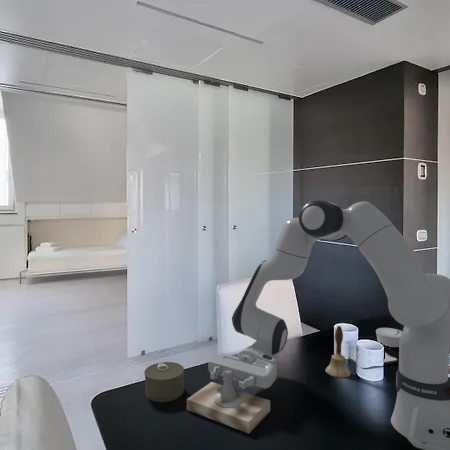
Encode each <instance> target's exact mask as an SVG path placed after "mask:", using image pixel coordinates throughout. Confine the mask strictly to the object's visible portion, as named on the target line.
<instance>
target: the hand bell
mask: <svg viewBox="0 0 450 450" xmlns="http://www.w3.org/2000/svg"><path fill="white" fill-rule="evenodd" d="M334 338H335V339H334V340H335V344H336V347H335V348H336V349H335V353H334V354H332V355H331V358H330V363H329V365H328V366H326V368H325V373H327V374H328V376H332V377H335V378H348V377H350V376H351V375H352V372H351V370H349V368H348V367H347V363H346V357H345V356H344V355H343V354H342V343H343V339H344V333H343V329H342V326H341V325H337V327H336V330H335V333H334Z"/></svg>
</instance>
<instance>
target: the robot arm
mask: <svg viewBox="0 0 450 450" xmlns="http://www.w3.org/2000/svg"><path fill="white" fill-rule="evenodd" d="M346 237H348V238H350V239H351V241H352V242H353V243H354V244H355V246H356V247H357V248H358V250H359V251H360V252H361V254H362V256H364V258H365V259H366V261H367V262H368V263H369V264H370V265H371V268H372V269H373V270H374V272H375V273H376V276H377V277H378V280H379V281H380V284H381V286H382V288H383V290H384V293H385V295H386V297H387V306H388V311H389V313H390V315H391V316H392V318H393V319H394V320H395V321H396V322H397V323H399V324H400V325H402V326H403V330H402V331H403V332H402V335H401V337H400V342H399V349H398V353H399V354H398V357H399V358H398V367H397V370H396V373H395V375H396V378H395V380H396V381H395V386H396V387H395V388H396V394H397V395H396V401H395V405H394V408H393V412H392V415H391V418H390V424H391V425H392V427H393V428H394V429H395V430H396V431H397V433H399V434H401V436H403V437H405V438H406V439H407V440H408V441H409V442H410V444H411V445H412V446H414V447H415V448H417V449H422V450H450V376H449V369H450V368H449V365H450V362H449V361H450V360H449V359H450V278H449V277H448V276H445V275H442V274H437V273H425V271H424V270H423V269H422V267H421V265H420V263H419V262H418V260H417V258H416V255H415V250H414V248H413V247H412V245H411V244H410V243H409V242H408V240H407V239H406V238H405V237H404V236H403V235H402V233H401V232H400V231H399V230H398V228H396V226H395V225H394V224H393V223H392V221H391V220H390V219H389V218H388V217H387V216H386V215H385V214H384V213H383V212H382V211H381V210H380V209H379V208H377V207H376V206H375V205H374V204H372V202H369V201H358V202H356V203H353V204H352V205H350V206H348V207H347V208H343V207H341V206H339V205H337V204H336V203H333V202H329V201H327V200H321V199H320V200H317V199H316V200H311V201H310V202H307V203H306V204H305V205H303V206H302V208H301V210H300V211H299V214H298V217H292V218H289V219H287V220H286V221H285V222H284V224H283V226H282V227H281V230H280V232H279V234H278V236H277V240H276V242H275V244H274V245H275V246H274V249H273V251H272V253H271V255H270V256H269V257H267V259H265V260H262V261H261V262H260V263H259V264H258V266H257V267H256V270H255V271H254V273H253V274H252V277H251V279H250V281H249V283H248V285H247V287H246V289H245V291H244V293H243V296H242V297H241V300H240V302H239V304H238V305H237V306H236V308H235V310H234V312H233V313H232V316H231V322H232V326H233V329H234V331H235V332H236V333H238V334H241V335H243V336H247V337H248V338H250V339H253V340H255V342H253V343H252V344H251V345H249V346H247V347H246V348H244V349H242V350H241V351H239V352H238V354H237V356H235V355H231V354H227V353H221V354H218V355H216V356H214V357H212V358H209V360H208V372H209V373H210V375H209V376H210V380H213V381H216V380H217V379H219V376H220V377H221V376H222V377H224V376H223V375H222V373H223V372H224V370H225V369H227V370H229V369H230V370H231V369H232V371H233V373H234V375H233V376H232V378H233V381H234V380H235V381H237V382H238V388H240V389H243V390H244V389H246V388H248V387H253V386H254V387H257V388H261V389H268V388H270V387H272V385H273V384H274V382H275V381H276V379H277V373H278V372H277V371H278V370H277V360H279V358H280V357H281V354H282V352H283V351H284V348H285V345H286V344H287V341H288V336H289V329H288V327H287V324H286V322H285V320H284V319H283V318H281V317H279V316H277V315H275V314H272V313H269V312H267V311H266V310H263V309H261V308H258V306H257V302H258V299H259V298H260V295H261V294H262V291H263V290H264V287H265V285H266V284H267V283H269V282H271V281H288V280H294V279H296V278H298V277H300V276H301V275H302V274H303V273H304V272H305V269H306V267H307V265H308V262H309V258H310V255H311V251H312V249H313V245H314V244H315V243H316V242H318V241H331V242H332V241H339V240H343V239H346Z"/></svg>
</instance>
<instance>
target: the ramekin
mask: <svg viewBox="0 0 450 450" xmlns="http://www.w3.org/2000/svg"><path fill="white" fill-rule="evenodd" d="M402 332H403V330H401V329H397V328H391V327H379V328H376V330H375V333H376V339H377V343H378V342H379V343H382V344H383V345H385V346H389V347H399V342H400V337H401V335H402ZM379 343H378V344H379Z"/></svg>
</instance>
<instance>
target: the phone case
mask: <svg viewBox="0 0 450 450" xmlns="http://www.w3.org/2000/svg"><path fill="white" fill-rule="evenodd" d="M384 352H385V351H384ZM353 356H354V357H353ZM355 356H356V355H352V356H351V355H350V356H348V361H349V362H350V363H352V364H353V365H355V364H356V358H355ZM397 361H398V362H399V358H396V357H395V356H393V355H391V354H389V353H387V352H385V359H384V363H385V364H388V363H393V362H397Z"/></svg>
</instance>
